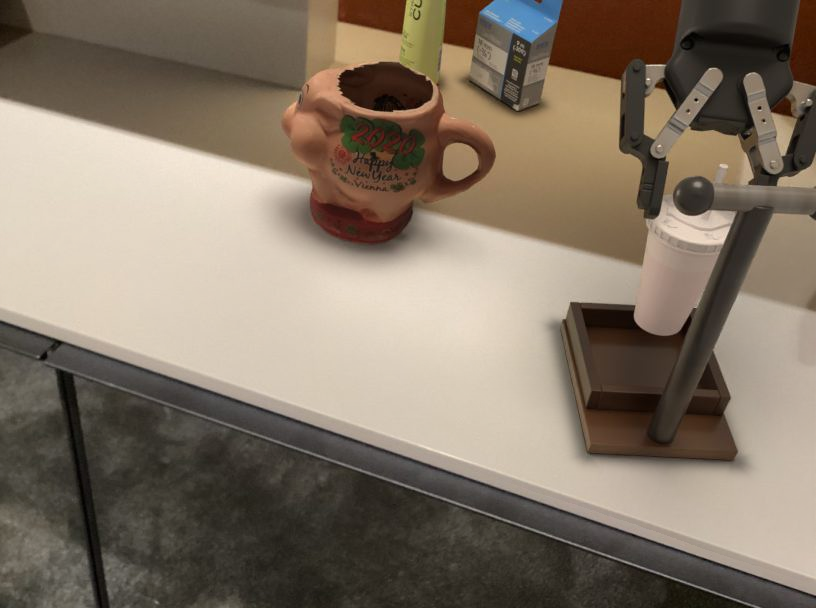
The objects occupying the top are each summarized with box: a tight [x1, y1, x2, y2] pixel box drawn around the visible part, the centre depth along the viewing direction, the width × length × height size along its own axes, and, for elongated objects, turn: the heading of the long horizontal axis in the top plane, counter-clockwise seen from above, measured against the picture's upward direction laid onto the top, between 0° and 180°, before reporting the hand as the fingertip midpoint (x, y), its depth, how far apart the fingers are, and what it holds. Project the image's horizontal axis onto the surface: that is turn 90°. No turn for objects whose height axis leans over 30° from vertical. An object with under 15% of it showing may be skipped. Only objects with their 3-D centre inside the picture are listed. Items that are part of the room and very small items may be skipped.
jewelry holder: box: [559, 175, 816, 461], centre depth 70 cm, size 11×14×23 cm
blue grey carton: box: [468, 0, 564, 112], centre depth 108 cm, size 9×4×12 cm, turn 33°
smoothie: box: [634, 163, 736, 336], centre depth 70 cm, size 6×6×14 cm
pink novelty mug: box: [280, 61, 497, 245], centre depth 89 cm, size 20×12×14 cm, turn 75°
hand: (700, 223), depth 67 cm, fingers closed on smoothie, 6 cm apart
